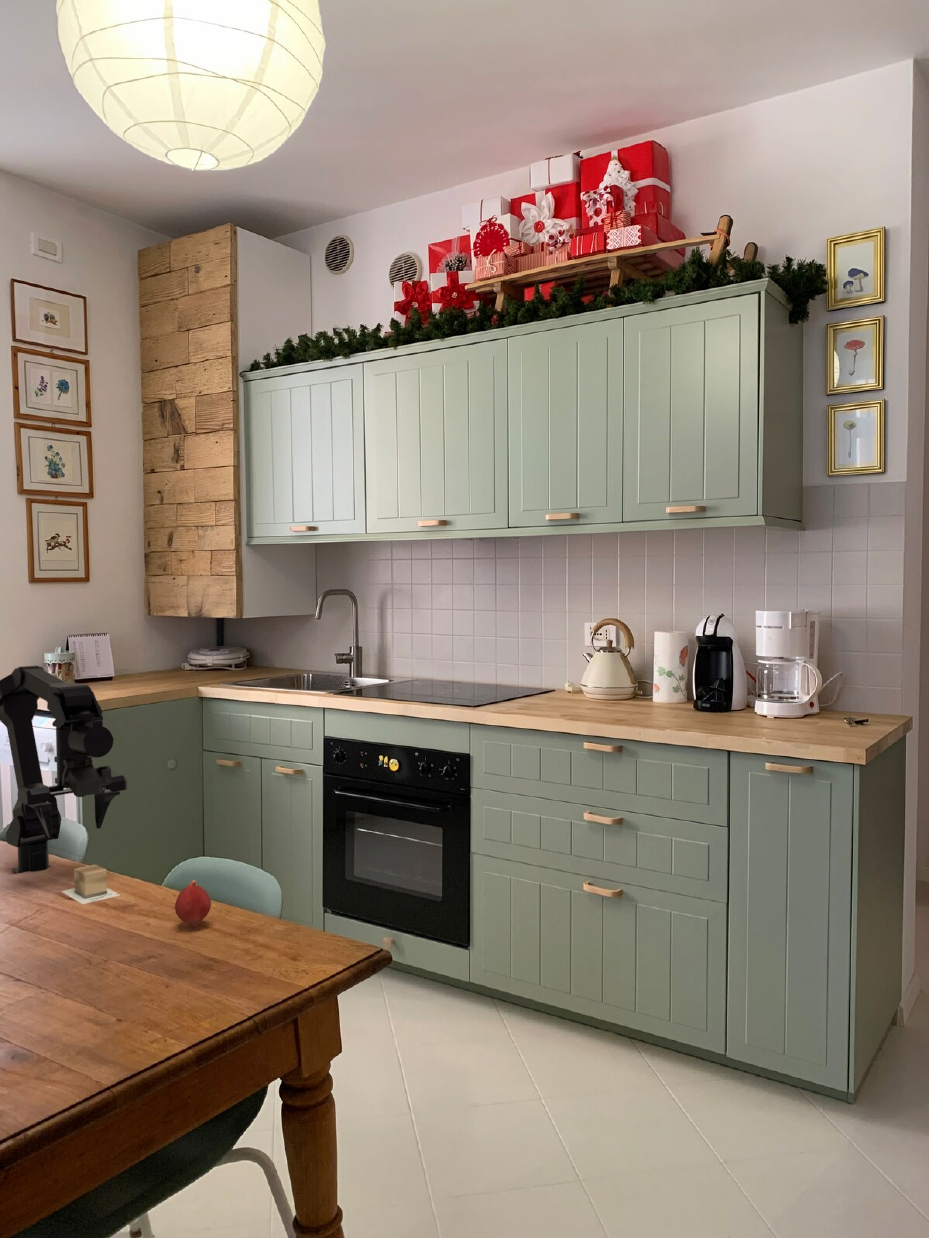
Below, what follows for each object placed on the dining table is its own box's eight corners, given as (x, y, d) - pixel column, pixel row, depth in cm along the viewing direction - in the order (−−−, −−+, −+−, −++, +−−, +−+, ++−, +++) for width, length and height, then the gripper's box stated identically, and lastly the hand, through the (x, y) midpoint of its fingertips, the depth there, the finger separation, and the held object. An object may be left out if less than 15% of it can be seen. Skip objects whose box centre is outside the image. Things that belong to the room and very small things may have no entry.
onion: (168, 930, 157) (167, 883, 157) (188, 919, 163) (187, 873, 163) (198, 934, 156) (197, 886, 155) (217, 922, 161) (216, 876, 161)
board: (61, 896, 175) (61, 891, 175) (98, 887, 180) (98, 882, 180) (82, 909, 168) (82, 903, 168) (120, 900, 173) (120, 894, 173)
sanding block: (74, 892, 174) (74, 868, 174) (95, 887, 177) (95, 864, 177) (85, 898, 171) (85, 874, 171) (107, 893, 174) (106, 869, 174)
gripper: (37, 763, 166) (39, 851, 167) (138, 750, 179) (140, 831, 180) (15, 755, 174) (17, 839, 175) (114, 743, 187) (115, 821, 188)
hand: (74, 832), depth 179 cm, fingers open, 9 cm apart
